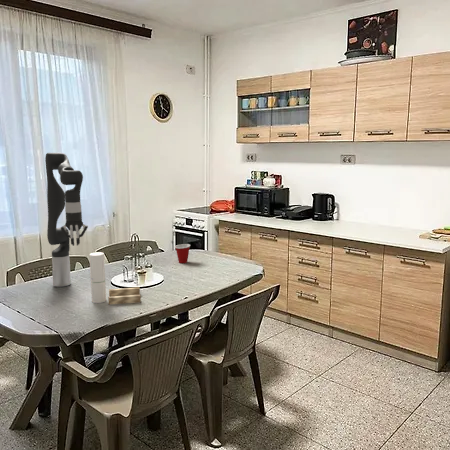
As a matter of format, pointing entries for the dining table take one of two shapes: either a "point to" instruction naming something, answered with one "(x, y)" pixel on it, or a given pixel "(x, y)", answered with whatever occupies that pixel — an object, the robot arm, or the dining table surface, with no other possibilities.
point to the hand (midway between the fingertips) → (75, 245)
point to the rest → (124, 295)
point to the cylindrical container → (97, 277)
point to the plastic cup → (182, 252)
